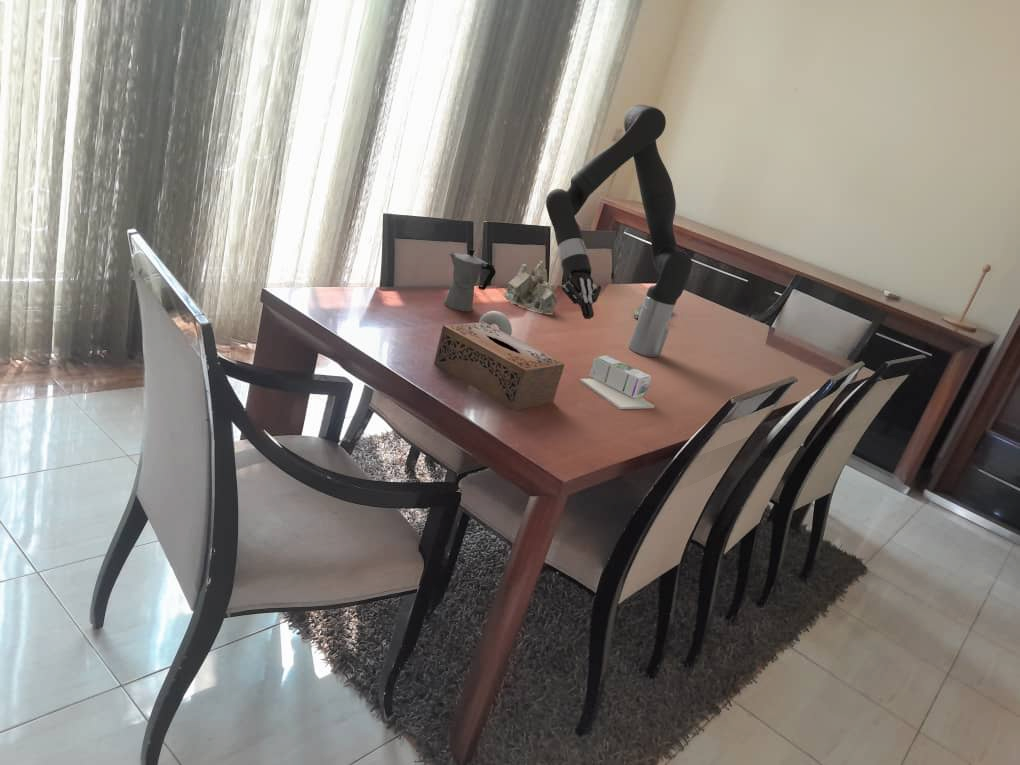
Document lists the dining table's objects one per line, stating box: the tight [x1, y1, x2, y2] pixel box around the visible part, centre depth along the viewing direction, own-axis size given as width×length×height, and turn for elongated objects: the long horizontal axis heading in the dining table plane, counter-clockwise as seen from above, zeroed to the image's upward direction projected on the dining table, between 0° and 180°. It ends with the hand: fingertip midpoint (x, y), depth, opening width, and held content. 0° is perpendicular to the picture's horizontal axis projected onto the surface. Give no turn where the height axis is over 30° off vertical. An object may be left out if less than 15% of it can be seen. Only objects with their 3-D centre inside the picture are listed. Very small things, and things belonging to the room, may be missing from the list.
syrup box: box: [589, 354, 652, 398], centre depth 191 cm, size 6×6×14 cm
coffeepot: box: [443, 248, 497, 312], centre depth 222 cm, size 15×9×18 cm, turn 70°
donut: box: [478, 310, 513, 336], centre depth 195 cm, size 10×4×10 cm, turn 60°
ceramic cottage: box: [502, 260, 558, 314], centre depth 245 cm, size 16×16×15 cm
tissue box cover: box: [433, 321, 565, 412], centre depth 172 cm, size 26×14×10 cm, turn 50°
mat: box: [579, 378, 655, 410], centre depth 189 cm, size 16×12×1 cm
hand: (589, 317), depth 197 cm, fingers closed
